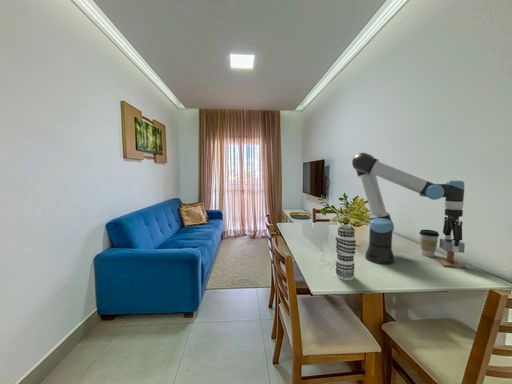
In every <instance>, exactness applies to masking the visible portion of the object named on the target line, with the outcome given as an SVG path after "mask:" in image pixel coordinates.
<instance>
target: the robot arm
mask: <svg viewBox="0 0 512 384" xmlns="http://www.w3.org/2000/svg"><path fill="white" fill-rule="evenodd" d="M351 161H352V162H351V164H352V167H353V169H354V170H356V174H357V177H358V178H360V179H361V182H362V185H363V189H364V193H365V197H366V200H367V204H368V207H369V211H370V216H369V220H370V221H369V234H368V236H369V238H368V240H369V242H368V247H367V249H366V252H365V254H364V255H365V259H366V260H367V261H369V262H372V263H376V264H382V265H391V264H394V263H395V255H394V251H393V248H392V244H393V232H394V229H395V226H394V223H393V220H392V218H391V214H390V212H388V211H387V210H386V205H385V203H384V200H383V196H382V192H381V189H380V186H379V182H378V179H377V177H380V178H381V179H383V180H387V181H389V182H390V183H394V184H396V185H398V186H401V187H403V188H405V189H408V190H410V191H412V192H415V193H417V194H418V195H419V197H423V198H424V197H425V198H428V199H430V200H433V201H436V200H440V199H441V198H445V200H444V215H445V216H444V219H443V220H444V221H443V228H442V229H443V230H442V234H444V239H452V252H454V253H460V252H459V241H463V221H461V220H460V218H462V217H463V214H464V210H463V208H464V205H465V203H464V198H465V189H466V188H465V182H464V181H463V180H447V181H446V183H434V182H431V181H428V180H426V179H423V178H421V177H417V176H415V175H413V174H411V173H408V172H406V171H403V170H401V169H397V168H395V167H393V166H390V165H388V164H385V163H383V162H380V160H379V159H378V158H376V157H374V156H373V155H371V154H370V153H366V152H359V153H357V154H356V155H354V157H353V158H352V160H351ZM452 237H453V238H452Z"/></svg>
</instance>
